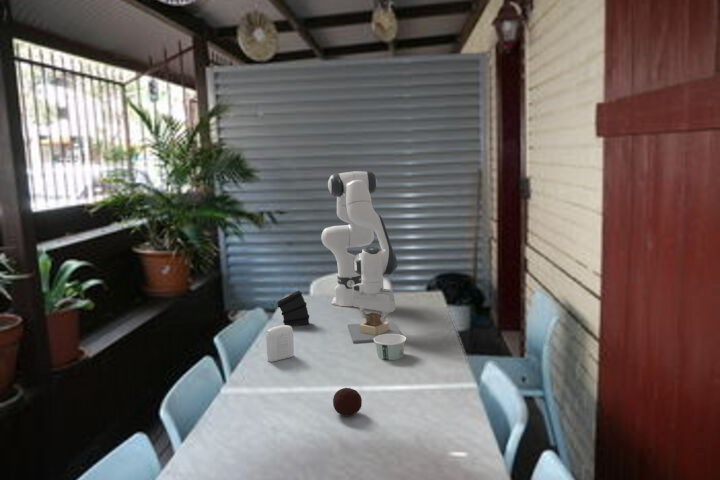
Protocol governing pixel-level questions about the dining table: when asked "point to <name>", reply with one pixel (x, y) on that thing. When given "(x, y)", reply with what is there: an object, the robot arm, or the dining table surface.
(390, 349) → the food container
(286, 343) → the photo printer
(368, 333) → the mount plate
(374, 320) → the block
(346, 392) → the brown ball
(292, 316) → the black ridged flat block
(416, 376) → the dining table surface
